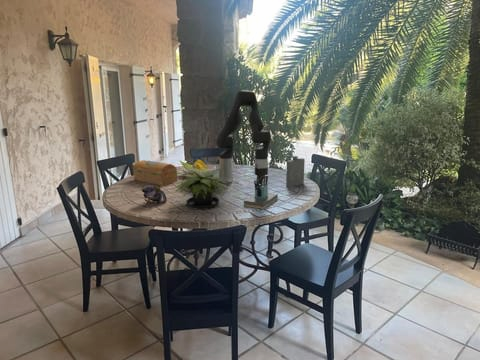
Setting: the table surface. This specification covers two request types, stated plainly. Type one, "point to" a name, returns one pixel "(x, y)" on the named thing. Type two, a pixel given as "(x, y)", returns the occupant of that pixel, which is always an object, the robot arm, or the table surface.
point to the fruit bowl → (198, 167)
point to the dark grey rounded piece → (153, 193)
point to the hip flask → (295, 172)
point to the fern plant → (202, 189)
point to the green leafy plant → (192, 173)
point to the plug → (262, 192)
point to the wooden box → (155, 172)
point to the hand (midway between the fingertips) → (261, 195)
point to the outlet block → (260, 201)
